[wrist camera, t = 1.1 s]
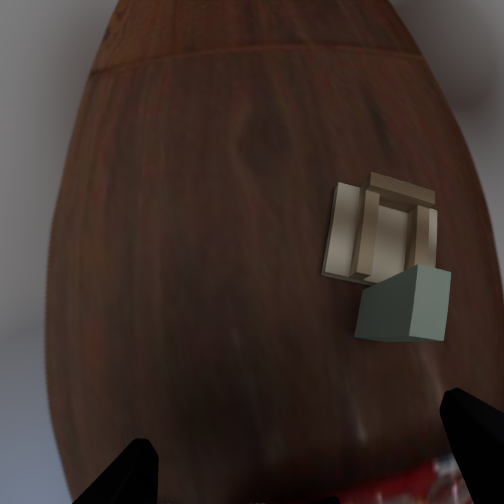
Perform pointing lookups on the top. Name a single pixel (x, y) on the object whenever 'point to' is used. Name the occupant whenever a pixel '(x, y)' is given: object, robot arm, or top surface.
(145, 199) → the top surface
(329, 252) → the groove base
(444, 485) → the top surface
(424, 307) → the plank
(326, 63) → the top surface
